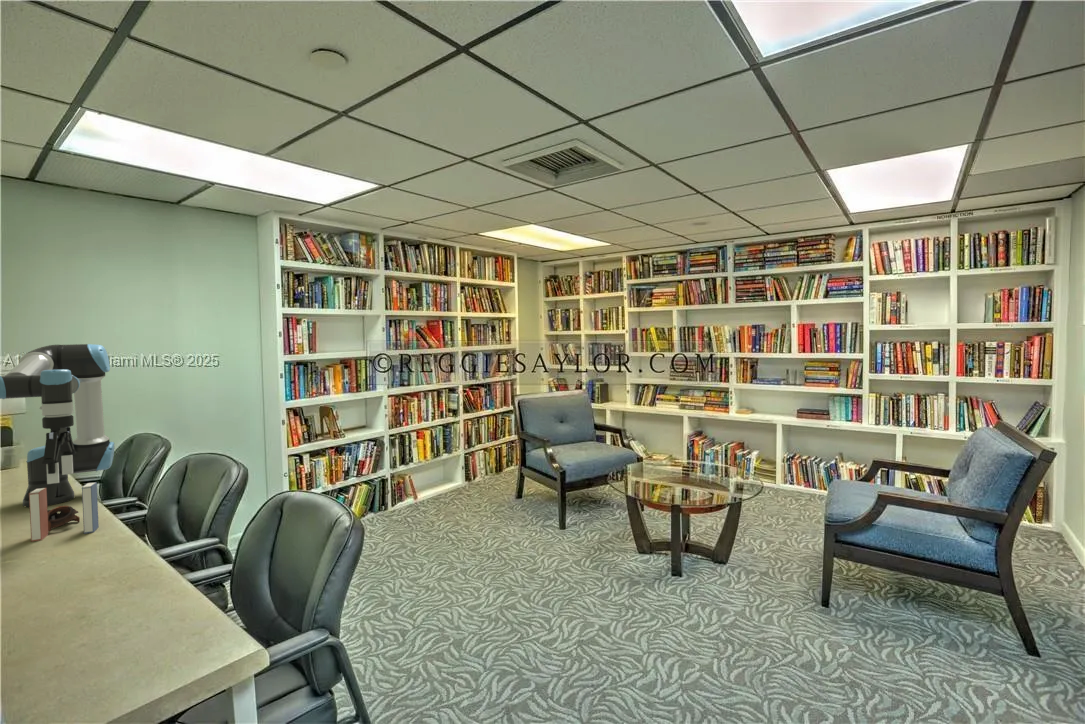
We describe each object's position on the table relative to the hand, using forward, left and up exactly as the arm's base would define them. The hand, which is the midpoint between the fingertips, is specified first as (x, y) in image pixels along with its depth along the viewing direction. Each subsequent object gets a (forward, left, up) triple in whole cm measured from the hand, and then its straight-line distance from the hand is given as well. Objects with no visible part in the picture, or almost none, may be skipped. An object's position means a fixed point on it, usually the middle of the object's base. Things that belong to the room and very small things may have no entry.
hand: (60, 478), depth 168 cm
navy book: (-2, +7, -20) cm, 21 cm away
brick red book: (-2, -6, -20) cm, 21 cm away
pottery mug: (-14, -4, -21) cm, 25 cm away
